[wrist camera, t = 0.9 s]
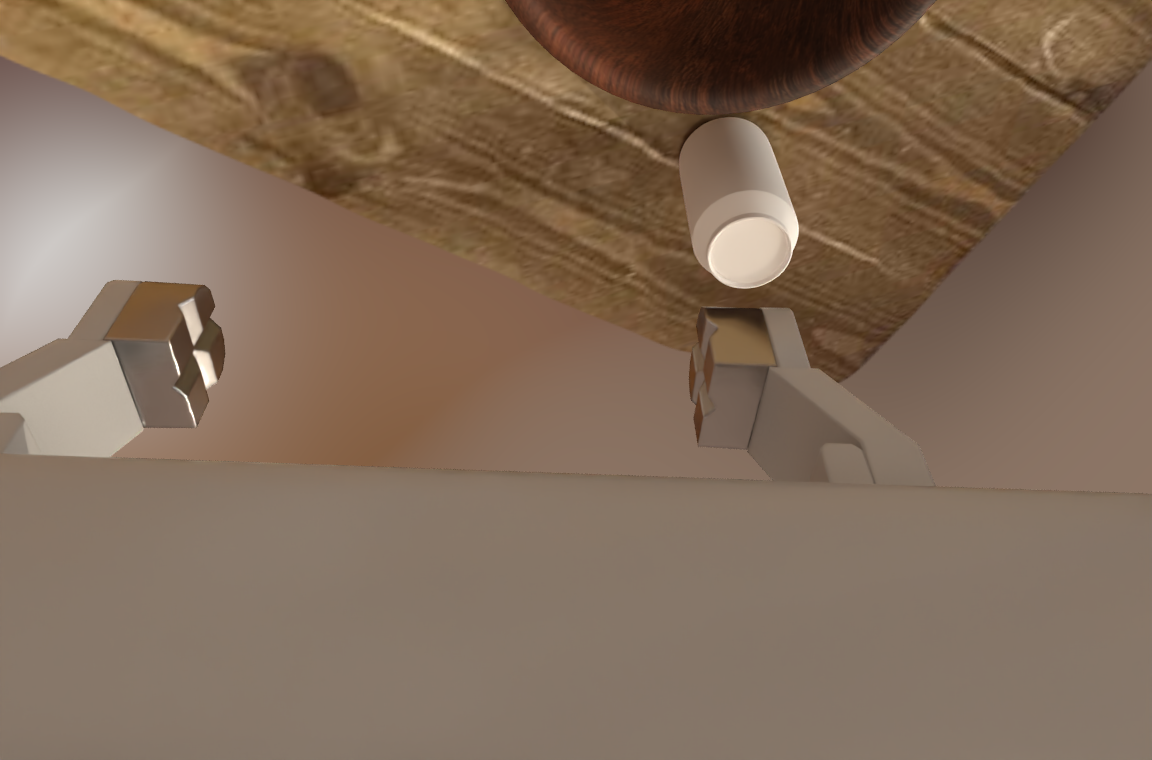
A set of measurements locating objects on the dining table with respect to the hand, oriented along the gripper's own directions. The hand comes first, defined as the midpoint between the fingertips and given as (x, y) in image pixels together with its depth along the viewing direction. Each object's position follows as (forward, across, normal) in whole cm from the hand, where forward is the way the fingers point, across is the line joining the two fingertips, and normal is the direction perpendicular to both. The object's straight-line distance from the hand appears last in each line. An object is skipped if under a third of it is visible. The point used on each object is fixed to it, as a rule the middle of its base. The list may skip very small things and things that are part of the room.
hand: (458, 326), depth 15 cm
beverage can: (+43, -13, +18) cm, 49 cm away
